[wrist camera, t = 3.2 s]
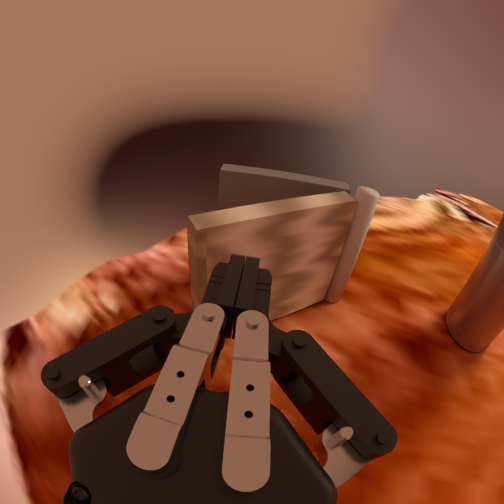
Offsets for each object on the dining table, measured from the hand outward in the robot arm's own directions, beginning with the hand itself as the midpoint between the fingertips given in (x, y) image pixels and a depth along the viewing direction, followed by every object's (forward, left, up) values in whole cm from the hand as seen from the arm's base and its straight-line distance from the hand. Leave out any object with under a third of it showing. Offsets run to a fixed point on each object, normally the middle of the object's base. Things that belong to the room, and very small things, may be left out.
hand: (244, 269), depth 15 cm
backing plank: (-3, -16, -15) cm, 22 cm away
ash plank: (-2, -10, -15) cm, 18 cm away
